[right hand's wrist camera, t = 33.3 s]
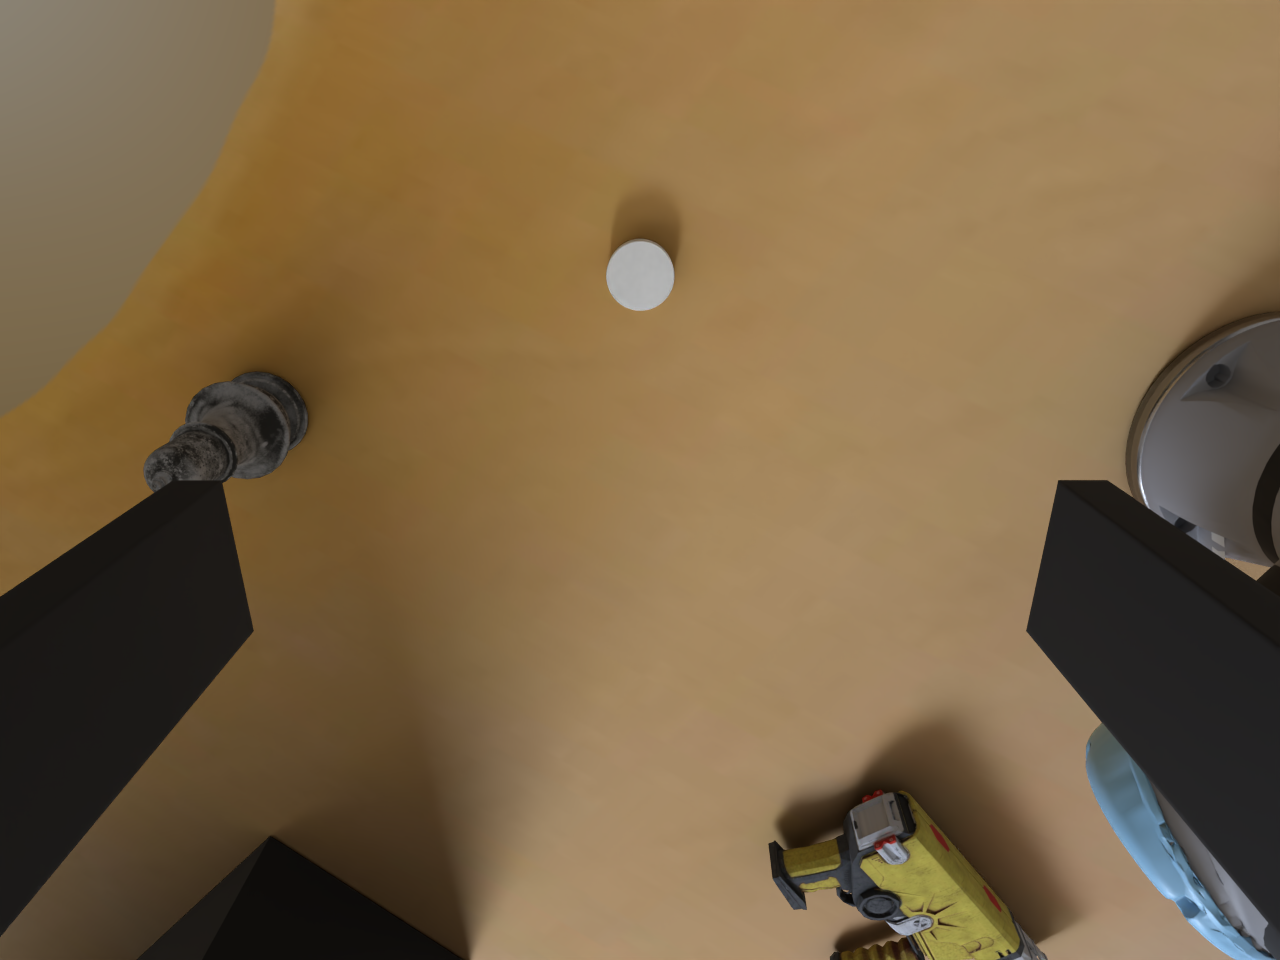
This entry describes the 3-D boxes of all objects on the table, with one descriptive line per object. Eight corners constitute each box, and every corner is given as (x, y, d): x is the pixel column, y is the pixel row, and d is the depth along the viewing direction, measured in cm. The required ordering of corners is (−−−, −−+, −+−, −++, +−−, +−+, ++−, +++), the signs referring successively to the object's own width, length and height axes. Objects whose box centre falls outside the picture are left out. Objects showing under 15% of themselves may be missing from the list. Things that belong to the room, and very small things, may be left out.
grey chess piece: (197, 414, 49) (65, 488, 37) (251, 346, 47) (131, 403, 36) (276, 476, 50) (172, 565, 39) (332, 413, 49) (240, 487, 37)
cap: (613, 311, 46) (612, 315, 45) (601, 244, 45) (600, 247, 44) (677, 300, 46) (679, 304, 45) (668, 233, 45) (669, 235, 43)
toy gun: (898, 1057, 66) (1067, 1000, 62) (734, 906, 58) (915, 827, 54) (885, 999, 71) (1043, 941, 66) (730, 850, 62) (898, 772, 58)
